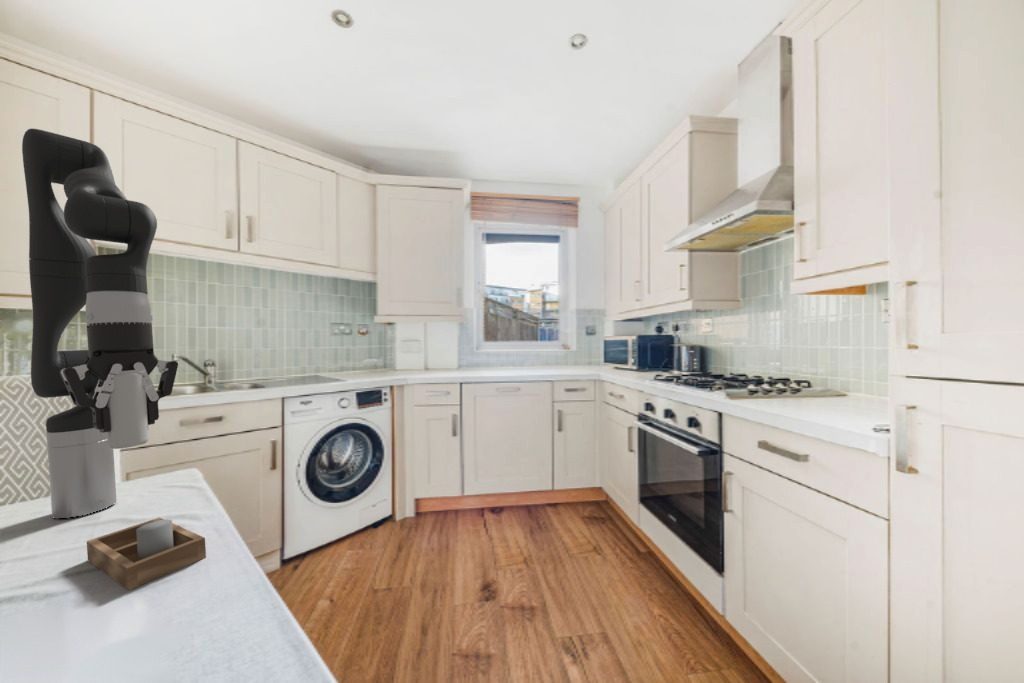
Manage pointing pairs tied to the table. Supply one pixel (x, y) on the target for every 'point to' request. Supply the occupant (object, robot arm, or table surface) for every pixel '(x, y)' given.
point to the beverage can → (128, 411)
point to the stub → (154, 538)
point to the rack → (122, 564)
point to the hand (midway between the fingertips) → (127, 427)
